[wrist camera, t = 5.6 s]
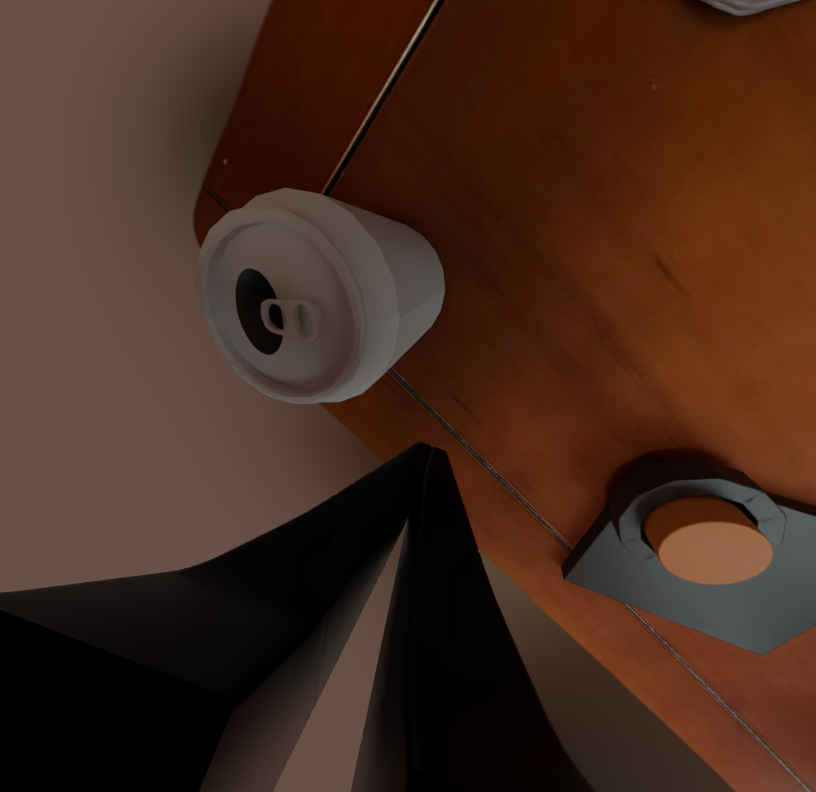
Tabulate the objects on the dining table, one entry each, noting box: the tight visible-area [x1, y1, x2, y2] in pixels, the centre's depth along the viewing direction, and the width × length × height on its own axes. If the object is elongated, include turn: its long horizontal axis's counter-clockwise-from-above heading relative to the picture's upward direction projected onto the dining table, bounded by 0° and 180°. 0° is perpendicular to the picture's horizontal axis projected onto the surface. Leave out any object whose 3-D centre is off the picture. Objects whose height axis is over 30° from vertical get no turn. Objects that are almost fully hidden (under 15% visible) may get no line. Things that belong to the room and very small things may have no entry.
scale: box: [561, 456, 816, 655], centre depth 20 cm, size 16×14×3 cm
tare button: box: [644, 495, 773, 585], centre depth 17 cm, size 5×5×2 cm
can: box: [196, 188, 445, 404], centre depth 14 cm, size 8×8×12 cm
